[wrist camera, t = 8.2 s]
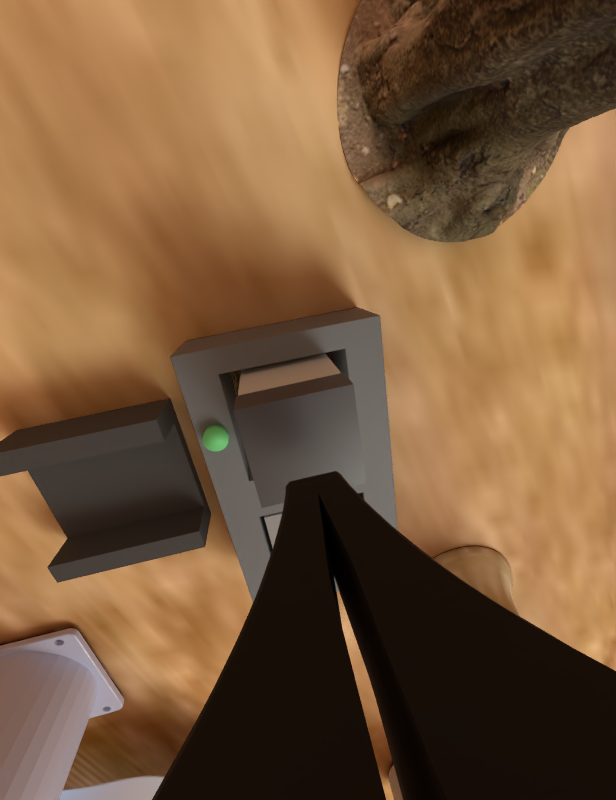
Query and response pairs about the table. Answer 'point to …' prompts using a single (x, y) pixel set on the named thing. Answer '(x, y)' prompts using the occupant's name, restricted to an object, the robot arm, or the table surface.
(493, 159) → the tree stump
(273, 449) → the plug
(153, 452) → the dark grey bracket
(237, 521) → the port panel
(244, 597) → the table surface
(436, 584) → the robot arm
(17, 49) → the table surface
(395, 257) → the table surface
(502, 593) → the hand bell
